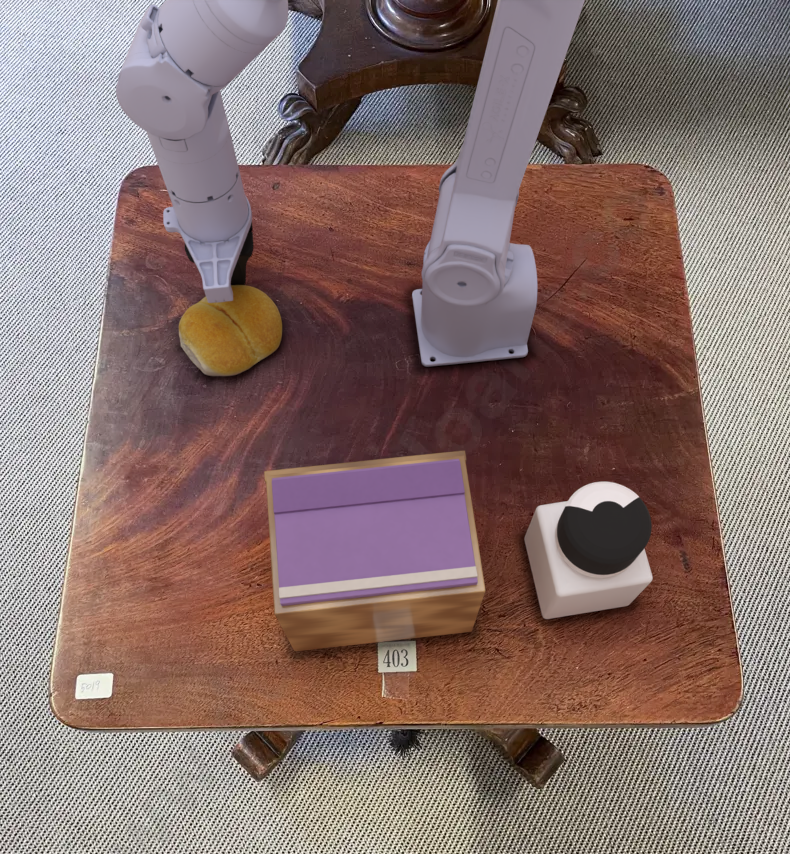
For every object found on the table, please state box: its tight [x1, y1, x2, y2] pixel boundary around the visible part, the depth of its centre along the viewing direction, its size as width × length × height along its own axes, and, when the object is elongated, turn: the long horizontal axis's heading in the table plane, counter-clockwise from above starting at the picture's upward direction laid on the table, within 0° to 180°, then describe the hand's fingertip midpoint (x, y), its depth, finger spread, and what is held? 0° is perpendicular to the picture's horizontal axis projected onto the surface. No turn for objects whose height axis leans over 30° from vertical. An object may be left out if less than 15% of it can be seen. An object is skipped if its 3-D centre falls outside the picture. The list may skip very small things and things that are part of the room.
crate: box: [263, 450, 486, 652], centre depth 64 cm, size 14×10×12 cm
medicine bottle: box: [524, 481, 654, 620], centre depth 64 cm, size 7×7×12 cm
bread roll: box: [178, 284, 283, 377], centre depth 75 cm, size 8×9×4 cm
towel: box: [272, 459, 478, 606], centre depth 58 cm, size 13×9×1 cm
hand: (233, 282), depth 78 cm, fingers closed
